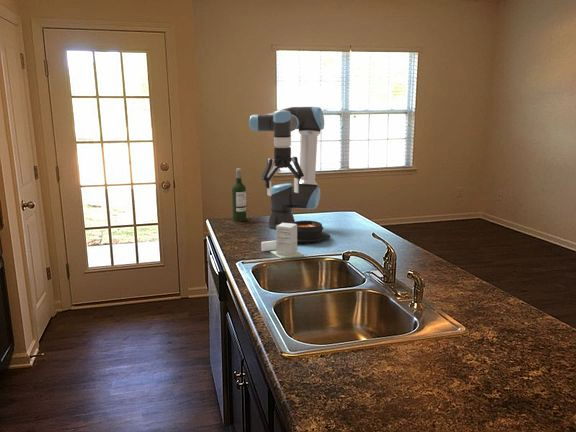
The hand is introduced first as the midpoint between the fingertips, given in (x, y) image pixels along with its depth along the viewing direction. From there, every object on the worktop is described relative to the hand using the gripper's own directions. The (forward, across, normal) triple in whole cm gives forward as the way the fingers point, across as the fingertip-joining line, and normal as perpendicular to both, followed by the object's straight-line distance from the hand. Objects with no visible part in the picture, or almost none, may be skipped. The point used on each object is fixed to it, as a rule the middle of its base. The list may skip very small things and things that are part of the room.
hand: (283, 194), depth 217 cm
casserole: (+26, -15, -6) cm, 31 cm away
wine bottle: (+27, -3, -63) cm, 69 cm away
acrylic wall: (+25, +4, +2) cm, 25 cm away
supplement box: (+24, +4, +11) cm, 27 cm away
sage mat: (+25, +4, +11) cm, 27 cm away
